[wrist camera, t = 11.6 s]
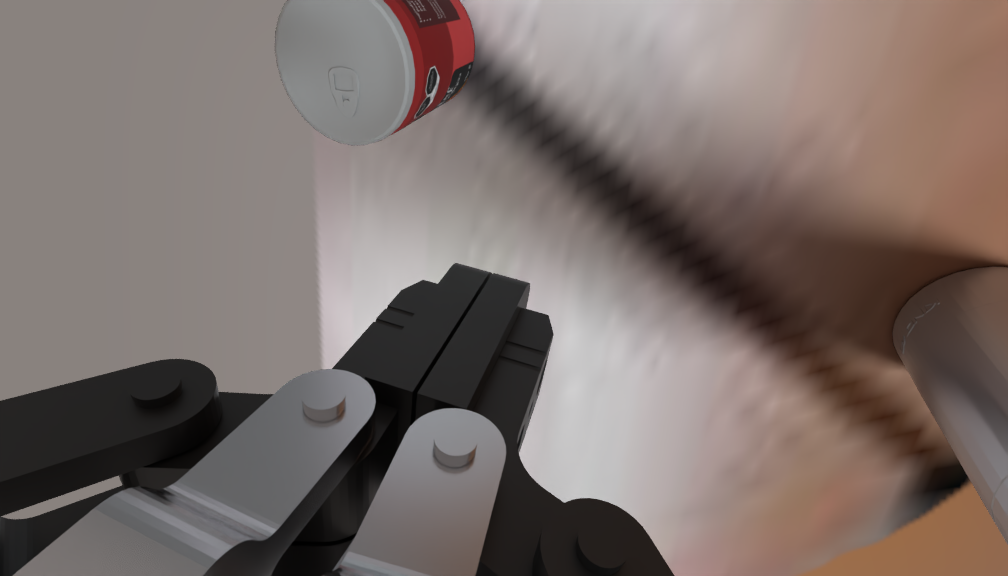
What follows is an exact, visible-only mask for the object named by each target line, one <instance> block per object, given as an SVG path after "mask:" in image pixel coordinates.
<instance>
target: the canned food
mask: <svg viewBox="0 0 1008 576" xmlns="http://www.w3.org/2000/svg"><path fill="white" fill-rule="evenodd" d="M474 52H475V41H474V32H473V28H472V25H471V21H470V19H469V16H468V14H467V12H466V10H465V8H464V7H463V5H462V4H461V2H460V1H459V0H287V1H286V3H285V4H284V6H283V8H282V11H281V13H280V15H279V18H278V23H277V27H276V32H275V53H276V61H277V66H278V70H279V74H280V77H281V81H282V83H283V85H284V87H285V90H286V92H287V95H288V96H289V98H290V100H291V101H292V103H293V104H294V106H295V108H296V109H297V110H298V112H299V113H300V114H301V115H302V117H303V118H304V119H305V120H306V121H307V122H308V123H309V124H310V125H311V126H312V127H313V128H314V129H315V130H317V131H318V132H320V133H321V134H323V135H324V136H326V137H327V138H330V139H332V140H334V141H337V142H339V143H343V144H348V145H366V144H370V143H374V142H377V141H380V140H382V139H384V138H386V137H388V136H390V135H392V134H393V133H395V132H397V131H399V130H401V129H402V128H404V127H406V126H407V125H409V124H411V123H412V122H414V121H416V120H417V119H419V118H421V117H422V116H424V115H426V114H427V113H429V112H430V111H432V110H434V109H435V108H437V107H439V106H440V105H442V104H444V103H445V102H447V101H449V100H450V99H452V98H453V97H454V96H455V95H456V94H457V93H459V92H460V90H461V89H462V87H463V86H464V85H465V83H466V81H467V79H468V77H469V75H470V72H471V69H472V65H473V60H474Z"/></svg>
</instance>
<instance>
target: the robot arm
mask: <svg viewBox="0 0 1008 576" xmlns="http://www.w3.org/2000/svg"><path fill="white" fill-rule="evenodd" d="M529 291H530V283H527V282H524V281H520V280H517V279H513V278H509V277H506V276H502V275H498V274H495V273H493V274H492V273H491V272H487V271H483V270H480V269H476V268H472V267H469V266H465V265H462V264H458V263H455V264H453V265H452V267H451V268H450V269H449V270H448V272H447V273H446V274H445V276H444V277H443V278H442V279H441V281H440V282H439V283H438V284H436V283H432V282H429V281H425V280H422V281H420V282H418V283H416V284H414V285H412V286H409V287H407V288H405V289H403V290H401V291H400V293H399V294H398V295H397V296H396V297H395V298H394V299H393V301H392V302H391V303H390V304H389V305H388V308H387V309H385V310H384V311H383V312H382V313H381V314H380V315H379V316H378V317H377V319H376V322H373V323H372V324H371V325H370V326H369V328H368V329H367V330H366V331H365V332H364V333H363V334H362V336H361V337H360V338H359V339H358V340H357V341H356V342H355V343H354V345H353V346H352V347H351V348H350V349H349V350H348V351H347V352H346V354H345V355H344V356H343V357H342V358H341V359H340V360H339V361H338V363H337V364H336V365H335V366H334V367H333V368H332V369H323V370H317V371H311V372H308V373H305V374H302V375H300V376H298V377H296V378H294V379H292V380H290V381H289V382H288V383H286V384H285V385H284V386H282V387H281V388H280V389H279V390H278V391H277V392H276V393H275V394H248V393H228V392H218V387H217V383H216V378H215V376H214V374H213V372H212V371H211V370H210V369H209V368H208V367H206V366H205V365H203V364H201V363H198V362H195V361H191V360H184V359H168V360H160V361H155V362H150V363H146V364H142V365H139V366H135V367H131V368H127V369H123V370H119V371H115V372H111V373H107V374H103V375H99V376H96V377H92V378H88V379H84V380H80V381H76V382H73V383H68V384H64V385H60V386H57V387H53V388H49V389H45V390H41V391H37V392H33V393H29V394H26V395H22V396H18V397H14V398H10V399H6V400H2V401H0V576H674V574H673V573H672V571H671V570H670V568H669V566H668V565H667V563H666V562H665V560H664V559H663V557H662V555H661V554H660V552H659V551H658V549H657V548H656V546H655V544H654V543H653V541H652V540H651V538H650V537H649V535H648V534H647V532H646V531H645V530H644V528H643V527H642V526H641V525H640V524H639V523H638V522H637V520H636V519H635V518H633V517H632V516H631V515H630V514H628V513H627V512H626V511H624V510H623V509H621V508H619V507H618V506H615V505H613V504H611V503H609V502H605V501H602V500H598V499H591V498H580V499H575V500H571V501H568V502H566V503H564V502H562V501H561V500H559V499H558V498H556V497H555V496H554V495H552V494H551V493H549V492H548V491H546V490H545V489H544V488H543V487H541V486H540V485H539V484H538V483H536V481H535V480H534V479H533V478H532V477H531V476H530V475H529V474H528V472H527V471H526V469H525V468H524V466H523V464H522V462H521V460H520V457H519V451H520V448H521V445H522V442H523V440H524V437H525V434H526V430H527V428H528V425H529V422H530V419H531V415H532V413H533V410H534V407H535V404H536V401H537V398H538V395H539V392H540V388H541V383H542V379H543V375H544V371H545V367H546V363H547V359H548V355H549V351H550V347H551V343H552V338H553V330H552V327H551V323H550V320H549V316H548V315H546V314H542V313H538V312H535V311H531V310H528V309H526V306H527V301H528V296H529ZM892 334H893V344H894V346H895V349H896V351H897V353H898V355H899V357H900V359H901V360H902V362H903V364H904V366H905V367H906V369H907V371H908V372H909V374H910V376H911V378H912V379H913V381H914V383H915V385H916V387H917V389H918V390H919V392H920V394H921V396H922V397H923V399H924V401H925V403H926V404H927V406H928V408H929V410H930V411H931V413H932V415H933V416H934V418H935V420H936V422H937V423H938V425H939V427H940V429H941V430H942V432H943V434H944V436H945V437H946V439H947V441H948V442H949V444H950V446H951V448H952V449H953V451H954V453H955V455H956V456H957V458H958V460H959V462H960V463H961V465H962V467H963V468H964V470H965V472H966V474H967V475H968V477H969V479H970V481H971V482H972V484H973V486H974V488H975V489H976V491H977V493H978V494H979V496H980V498H981V500H982V501H983V503H984V505H985V507H986V508H987V510H988V512H989V514H990V515H991V517H992V519H993V520H994V522H995V524H996V525H997V527H998V529H999V530H1000V532H1001V534H1002V536H1003V537H1004V539H1005V541H1006V542H1007V544H1008V267H984V268H974V269H970V270H966V271H961V272H957V273H954V274H951V275H949V276H946V277H944V278H941V279H938V280H937V281H935V282H933V283H931V284H930V285H928V286H926V287H924V288H923V289H921V290H920V291H919V292H918V293H916V294H915V295H914V296H913V297H912V298H910V299H909V301H908V302H907V303H906V304H905V305H904V307H903V308H902V309H901V310H900V312H899V314H898V316H897V318H896V320H895V323H894V328H893V333H892ZM118 475H119V477H120V480H121V482H122V486H120V487H117V488H114V489H111V490H109V491H106V492H103V493H100V494H97V495H94V496H92V497H89V498H86V499H83V500H80V501H78V502H75V503H72V504H69V505H67V506H64V507H61V508H58V509H56V510H53V511H50V512H47V513H44V514H41V515H39V516H35V517H32V518H27V519H16V520H13V519H7V518H3V517H1V516H3V515H5V514H9V513H12V512H15V511H17V510H20V509H23V508H26V507H29V506H32V505H35V504H37V503H40V502H43V501H46V500H49V499H52V498H55V497H58V496H61V495H64V494H66V493H69V492H72V491H75V490H78V489H80V488H83V487H87V486H89V485H92V484H95V483H98V482H101V481H104V480H106V479H109V478H112V477H115V476H118Z"/></svg>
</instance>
